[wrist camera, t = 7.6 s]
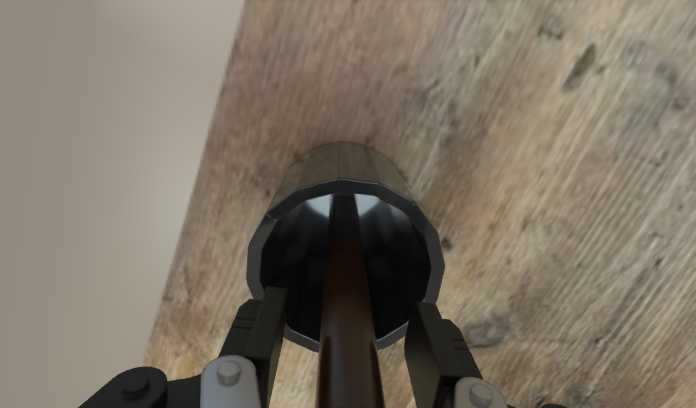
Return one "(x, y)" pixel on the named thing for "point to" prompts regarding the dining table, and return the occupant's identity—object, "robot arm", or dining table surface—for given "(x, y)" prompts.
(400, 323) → the crock
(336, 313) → the stick
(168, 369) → the dining table surface
